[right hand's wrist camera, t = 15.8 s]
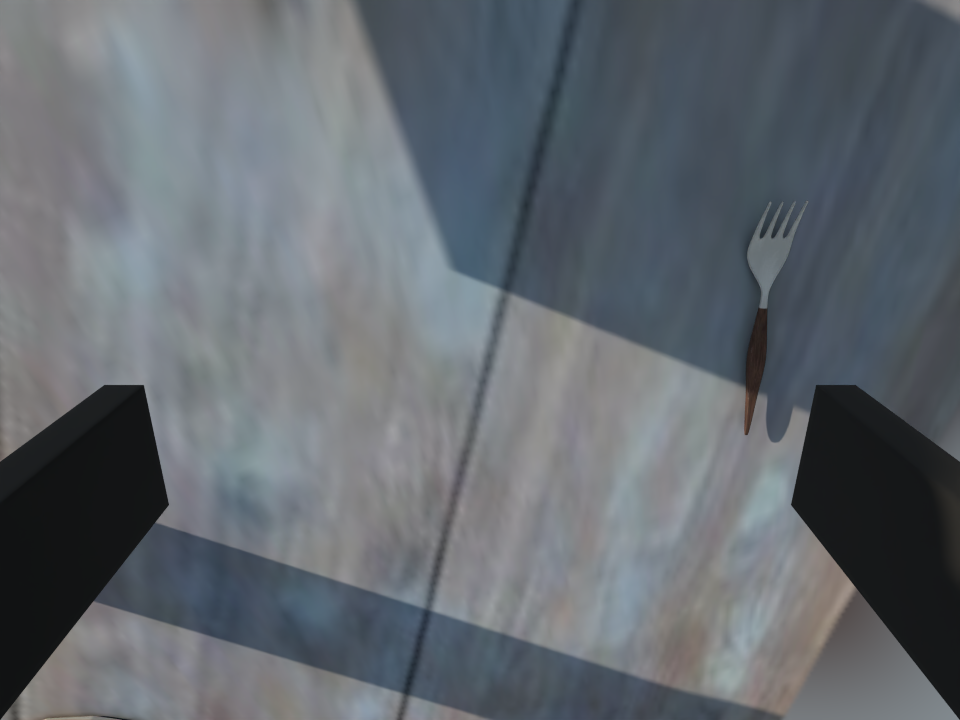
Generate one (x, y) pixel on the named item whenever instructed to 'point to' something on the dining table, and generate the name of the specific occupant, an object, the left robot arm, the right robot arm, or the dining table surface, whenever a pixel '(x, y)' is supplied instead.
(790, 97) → the dining table surface
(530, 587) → the dining table surface
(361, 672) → the dining table surface
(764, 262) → the fork
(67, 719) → the wall clock
